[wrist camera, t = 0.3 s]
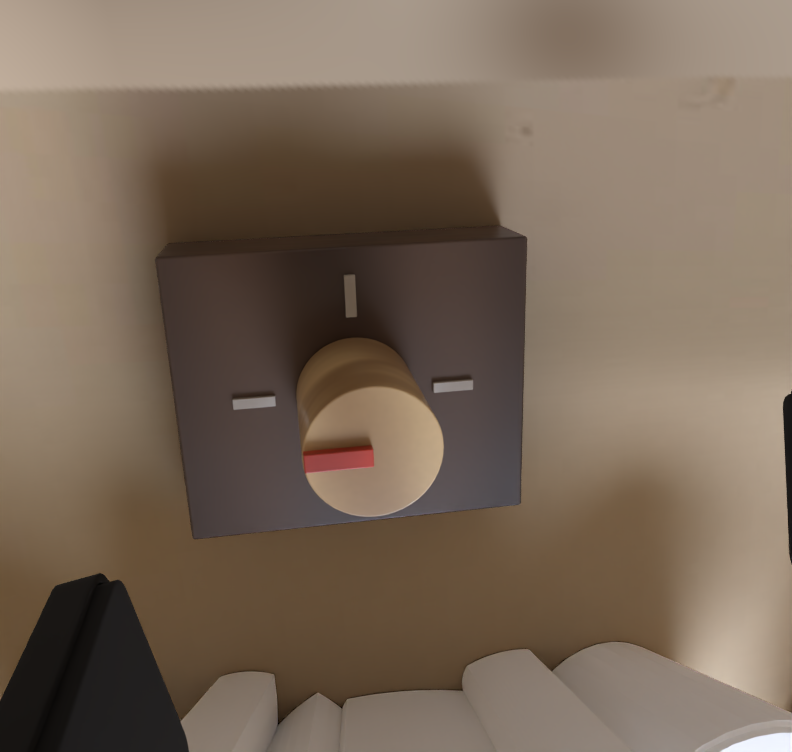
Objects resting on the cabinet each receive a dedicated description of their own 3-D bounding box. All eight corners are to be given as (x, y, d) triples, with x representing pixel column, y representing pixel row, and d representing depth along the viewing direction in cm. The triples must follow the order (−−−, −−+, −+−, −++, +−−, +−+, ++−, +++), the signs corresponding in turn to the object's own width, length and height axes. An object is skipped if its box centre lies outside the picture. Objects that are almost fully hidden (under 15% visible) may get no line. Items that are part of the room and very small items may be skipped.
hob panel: (502, 225, 28) (529, 237, 25) (498, 470, 31) (522, 507, 28) (166, 243, 26) (153, 258, 23) (200, 500, 29) (191, 543, 26)
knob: (411, 332, 25) (445, 383, 20) (414, 442, 27) (447, 514, 22) (291, 341, 25) (297, 395, 20) (300, 452, 26) (307, 529, 21)
